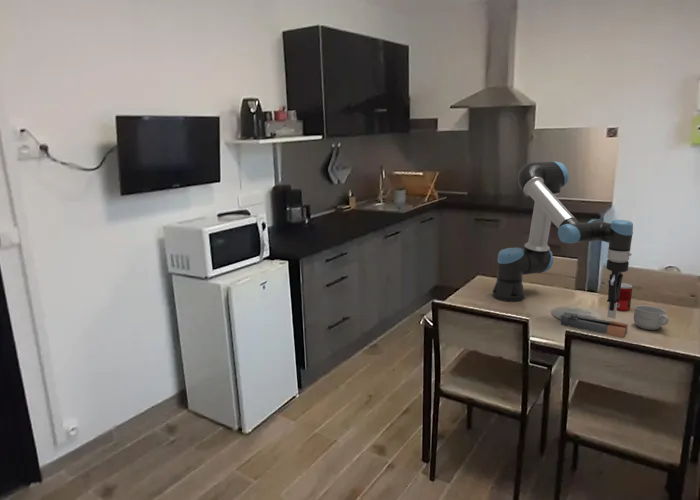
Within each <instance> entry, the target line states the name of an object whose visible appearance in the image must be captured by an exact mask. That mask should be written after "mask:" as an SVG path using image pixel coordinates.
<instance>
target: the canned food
mask: <svg viewBox="0 0 700 500" xmlns="http://www.w3.org/2000/svg"><path fill="white" fill-rule="evenodd" d="M632 294H633V285H632V284H630V283H626V282H622V283H621V289H620V295H619V299H618V300H620V302H617V310H618V311H619V312H629V311H630V309H631V304H632V297H633V296H632ZM617 310H616V311H617Z"/></svg>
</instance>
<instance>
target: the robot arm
mask: <svg viewBox="0 0 700 500" xmlns="http://www.w3.org/2000/svg"><path fill="white" fill-rule="evenodd" d="M568 171H569V170H568V169H567V167H566V165H565V164H564V163H562V162H560V161H552V160H550V161H540V162H537V161H535V162H529V163H526V164H525V165H523V166H522V167H521V169H520V170H519V172H518V176H517V182H518V183H517V184H518V186H519V188H520V190H521V191H522V193H524V194H525V195H526V196H530V197H531V199H532V200H533V201H534V204H533V209H532V210H533V211H532V216H531V223H530V230H529V236H528V241H527V242H525V243H524V245H523V248H521V247H507V248H503V249H500V251H499V252H498V254H497V260H496V261H497V267H496V272H497V273H496V282H495V284H494V286H493V288H492V293H491V294H492V297H493V298H494V299H496V300H497V301H498V300H499V301H503V302H520V301H523V300H525V299H526V291H525V288H524V284H523V275H533V274H542V273H546V272H548V271H549V270H550V269H551V268H552V267H553V264H554V256H553V251H551V247H550V245H548V242H549V236H550V230H551V225H552V223H553V224H554V226H556V228H557V229H558V230H557V236H558V240H560V242H561V243H563V244H576V243H584V242H585V243H586V242H596V241H597V242H599V241H600V242H605V243H608V250H607V260H606V269H607V270H608V271H610V273H611V274H609V279H608V281H607V282H608V293H607V300H606V303H607V302H608V307H607V315H606V316H607V318H611V319H616V317H617V302H620V300H618V299H619V295H620V289H621V283H623V282H622V281H623V278H624V274H623V273H625V272H628V271H629V265H630V264H629V263H630V262H629V261H630V256H632V253H631V246H632V240H633V234H634V224H633V222H632V221H630V220H624V219H614V220H612V221H611V223H610V222H606V221H602V220H599V219H598V220H596V219H591V220H589V221H587V222H582V223H581V222H579V221H578V219H576V217H575V216H574V215H573V214H572V213H571V212H570V211H569V210H568V209H567V208H566V206H564V204H563V203H562V202H561V201H560V199H558V197H557V196H558V195H559V194H560V193H561V188H564V187H565V186H566V185H567V183H568V181H569V172H568Z"/></svg>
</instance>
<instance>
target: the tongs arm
mask: <svg viewBox="0 0 700 500" xmlns="http://www.w3.org/2000/svg"><path fill="white" fill-rule="evenodd" d="M571 317H572V318H574V319H579V320H584V321H589V322H594V323H599V324H604V325H612V326H617V327H623V328H626V333H625V334H627V332H628V326H629V324H628V323H624V322H618V321H612V320H611V321H610V320H605V319H597V318H592V317H586V316H581V315H579V314H577V313H572V314H571Z"/></svg>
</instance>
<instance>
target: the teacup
mask: <svg viewBox="0 0 700 500" xmlns="http://www.w3.org/2000/svg"><path fill="white" fill-rule="evenodd" d="M633 321H634V323H635V324H636V326H638V327H639V328H641V329H644V330H649V331H652V330H653V331H654V330H657V329H659V328H662V327H663V326H666V325H668V324H669V322H670V318H669V316H668V315H667V314H666V310H665V309H663V308H660V307H657V306H652V305H645V304H644V305H643V304H639V305H634V311H633Z"/></svg>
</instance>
